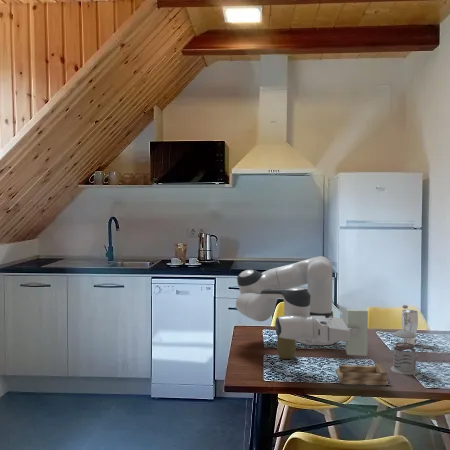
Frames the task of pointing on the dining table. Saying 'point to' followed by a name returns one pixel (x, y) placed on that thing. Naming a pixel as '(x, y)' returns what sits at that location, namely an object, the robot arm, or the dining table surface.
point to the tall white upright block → (357, 341)
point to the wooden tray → (362, 374)
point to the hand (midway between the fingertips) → (359, 329)
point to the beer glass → (410, 324)
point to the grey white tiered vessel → (405, 353)
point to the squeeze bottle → (286, 348)
